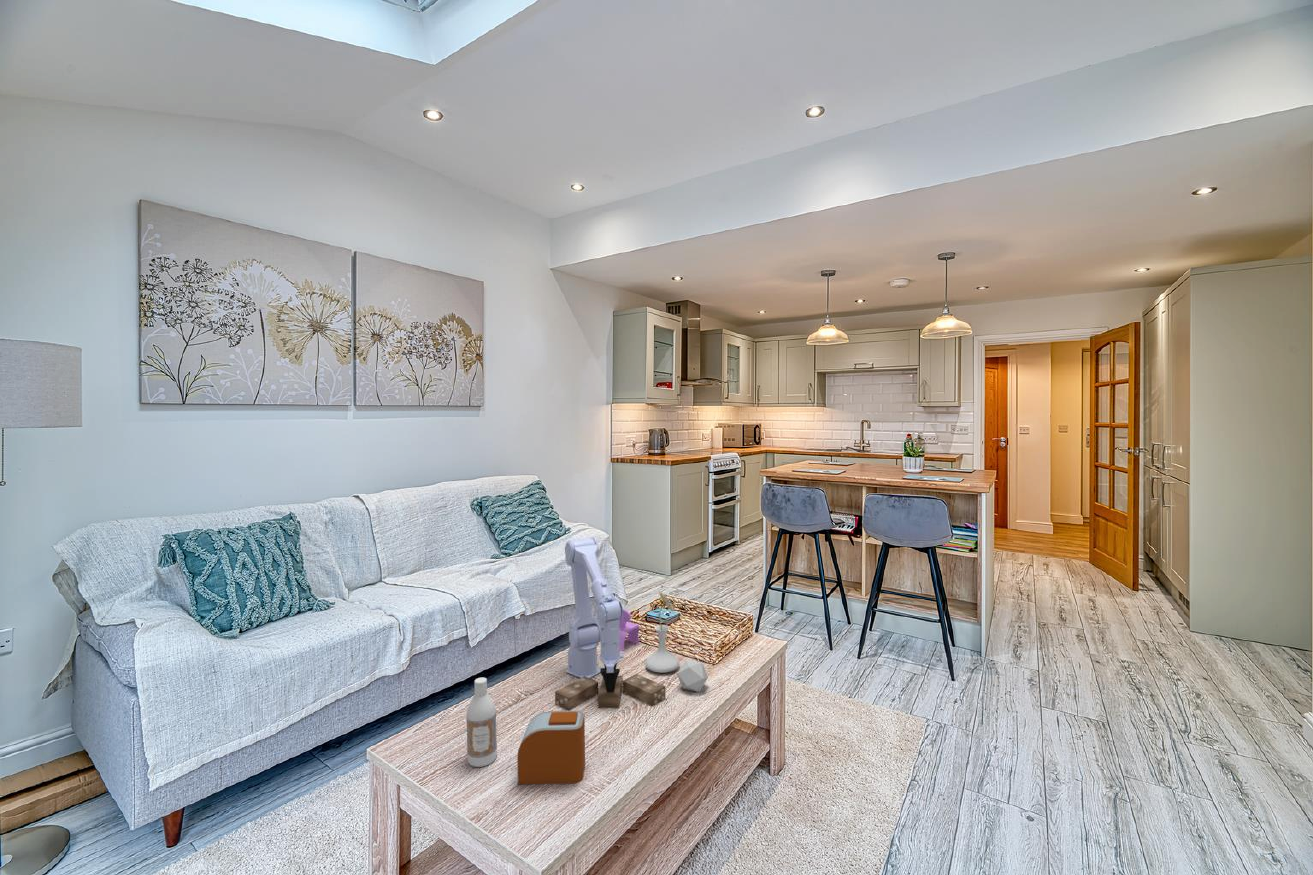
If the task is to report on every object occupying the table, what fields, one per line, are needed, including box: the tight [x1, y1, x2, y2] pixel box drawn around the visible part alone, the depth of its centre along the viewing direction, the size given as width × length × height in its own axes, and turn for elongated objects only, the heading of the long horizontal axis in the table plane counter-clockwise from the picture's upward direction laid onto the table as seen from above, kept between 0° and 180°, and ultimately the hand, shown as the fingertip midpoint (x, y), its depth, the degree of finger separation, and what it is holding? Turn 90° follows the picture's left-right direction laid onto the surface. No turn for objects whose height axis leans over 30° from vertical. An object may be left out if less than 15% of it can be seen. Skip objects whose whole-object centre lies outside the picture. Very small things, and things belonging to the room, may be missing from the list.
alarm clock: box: [516, 710, 586, 785], centre depth 130 cm, size 15×8×14 cm, turn 91°
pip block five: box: [622, 673, 667, 707], centre depth 165 cm, size 12×6×4 cm, turn 48°
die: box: [676, 659, 709, 693], centre depth 169 cm, size 8×9×10 cm
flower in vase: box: [645, 591, 680, 673], centre depth 183 cm, size 13×11×25 cm
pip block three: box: [554, 676, 599, 711], centre depth 164 cm, size 12×6×4 cm, turn 142°
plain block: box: [597, 675, 624, 709], centre depth 164 cm, size 12×6×4 cm, turn 178°
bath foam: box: [466, 676, 498, 768], centre depth 135 cm, size 7×7×20 cm
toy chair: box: [619, 608, 640, 653], centre depth 201 cm, size 8×9×15 cm
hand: (610, 685), depth 164 cm, fingers open, 7 cm apart
